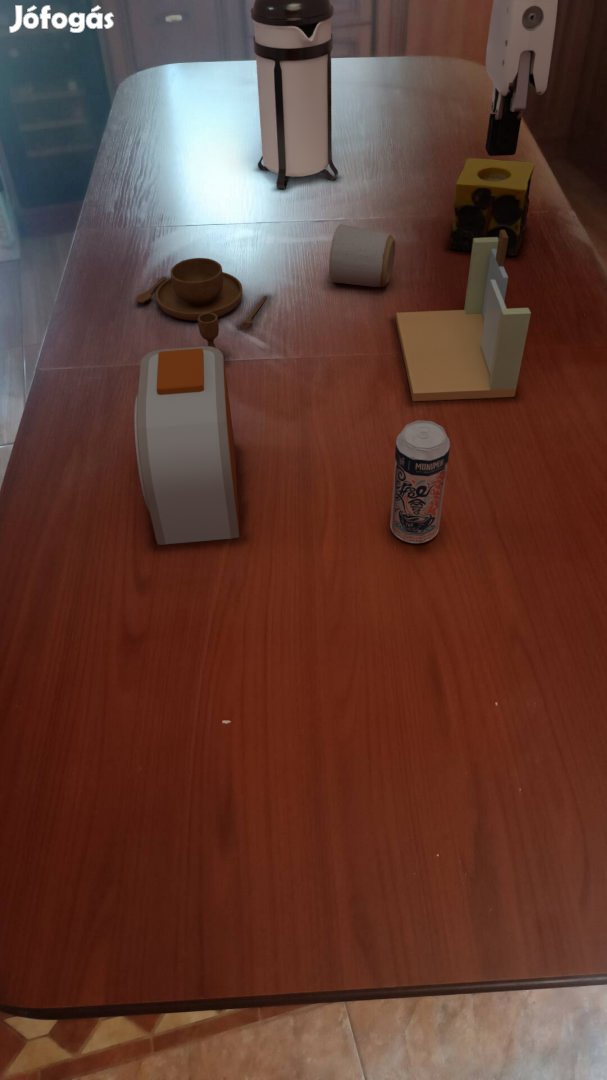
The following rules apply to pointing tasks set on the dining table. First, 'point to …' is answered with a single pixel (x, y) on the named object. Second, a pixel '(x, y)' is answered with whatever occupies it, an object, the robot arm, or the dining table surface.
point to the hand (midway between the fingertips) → (500, 152)
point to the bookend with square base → (465, 341)
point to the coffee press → (294, 86)
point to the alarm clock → (186, 445)
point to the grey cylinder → (361, 256)
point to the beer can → (419, 481)
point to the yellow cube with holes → (491, 202)
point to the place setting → (199, 295)
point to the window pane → (497, 268)
